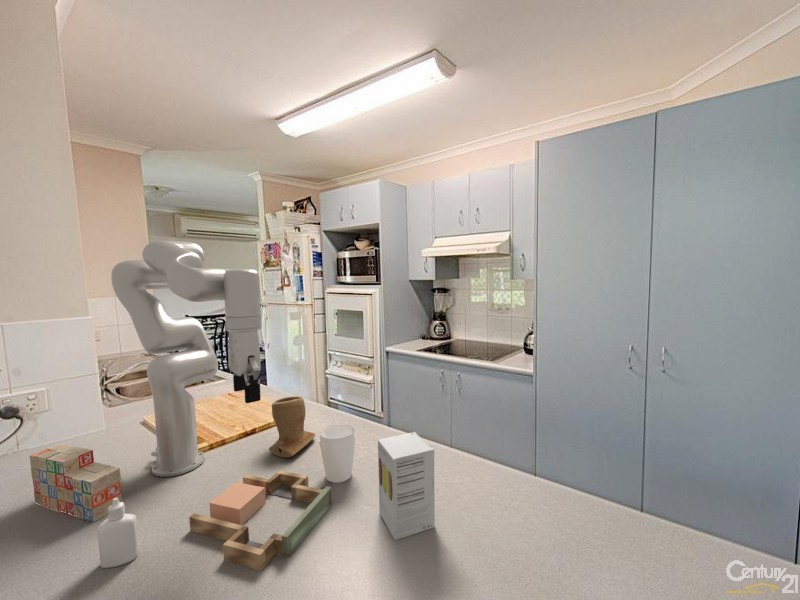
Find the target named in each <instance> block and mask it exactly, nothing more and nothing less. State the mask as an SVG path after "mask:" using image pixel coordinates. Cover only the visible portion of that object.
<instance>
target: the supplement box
mask: <svg viewBox="0 0 800 600" xmlns="http://www.w3.org/2000/svg"><path fill="white" fill-rule="evenodd" d="M377 451H378V452H377V455H378V456H377V459H378V464H377V465H378V467H377V468H378V507H379V508H378V509H379V514H380V515H381V518H382V520H383V521H384V523H385V525H386V527H387V528H388V530H389V532H390V534H391V536H392V538H393V539H394V541H398V540H400V539H403V538H407V537H409V536H413V535H415V534H419V533H421V532H424V531H428V530H431V529H434V528H435V525H436V523H435V521H436V519H435V517H436V513H435V512H436V507H435V449H434V448H433V447H431V446H430V445H429V444H428V443H427V442H425V440H423V438H421V436H420V435H419V434H418V433H417V432H415V431H412V432H409V433H408V432H407V433H404V434H403V433H402V434H400V435H399V434H398V435H394V436H389V437H383V438H379V439H378V440H377Z"/></svg>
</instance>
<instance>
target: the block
mask: <svg viewBox="0 0 800 600" xmlns="http://www.w3.org/2000/svg"><path fill="white" fill-rule="evenodd" d="M265 504H266V494H265V488H264V487H259V486H254V485H248V484H243V482H235V483H234V484H232V485H231V486H230V487H228V488H227V489H225V490H224V491H223V492H222V493H220V494H219V495H217V496H216V497H215V498H214V499H213V500H211V501H210V502H209V515H210V516H209V517H211V518H215V519H219V520H222V521H226V522H230V523H234V524H238V525H242V526H243V525H244V524H245V523H246V522H247V521H248V520H249V519H250V518H251V517H252V516H254V514H255V513H256V512H258V510H260V509H261V508H262V507H263V506H264V505H265Z"/></svg>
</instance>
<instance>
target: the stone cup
mask: <svg viewBox="0 0 800 600" xmlns="http://www.w3.org/2000/svg"><path fill="white" fill-rule="evenodd" d="M271 415H272V416H271V417H272V419H273V421H274V423H275V426H276V429H277V432H278V439H277V440H276V441H275V442H274V443H273V444H272V445H271V446H270V447H269V448H268V450H269V452H271V453H272V454H273V455H276V456H277V457H280V458H282V459H283V458H284V459H285V458H290V457H293V456H294V455H296V454H298V452H300V451H301V450H302V449H303V448H305V446H307V445H308V444H310V442H311V441H312V440H314V438H315V437H316V433H314V432H311V431H306V430H305V429H304V426H305V419H306V405H305V400H304V398H303V397H302V396H300V395H296V396H295V395H294V396H293V395H292V396H286V397H281V398H278V399H275V400H274V401H273V402H272V404H271Z"/></svg>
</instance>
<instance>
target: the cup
mask: <svg viewBox="0 0 800 600" xmlns="http://www.w3.org/2000/svg"><path fill="white" fill-rule="evenodd" d="M355 445H356V437H355V428H354V427H353V426H352V425H349V424H339V423H337V424H331V425H329V426H325V427H324V428H322V429H321V430H320V434H319V447H320V448H319V449H320V452H321V459H322V463H323V469H324V474H325V479H326V480H327V481H328V482H331V483H335V484H336V483H337V484H338V483H342V482H345V481H348V480H349V479H350V478H351V477H352V475H353V465H354V456H355V448H356V447H355Z"/></svg>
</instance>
